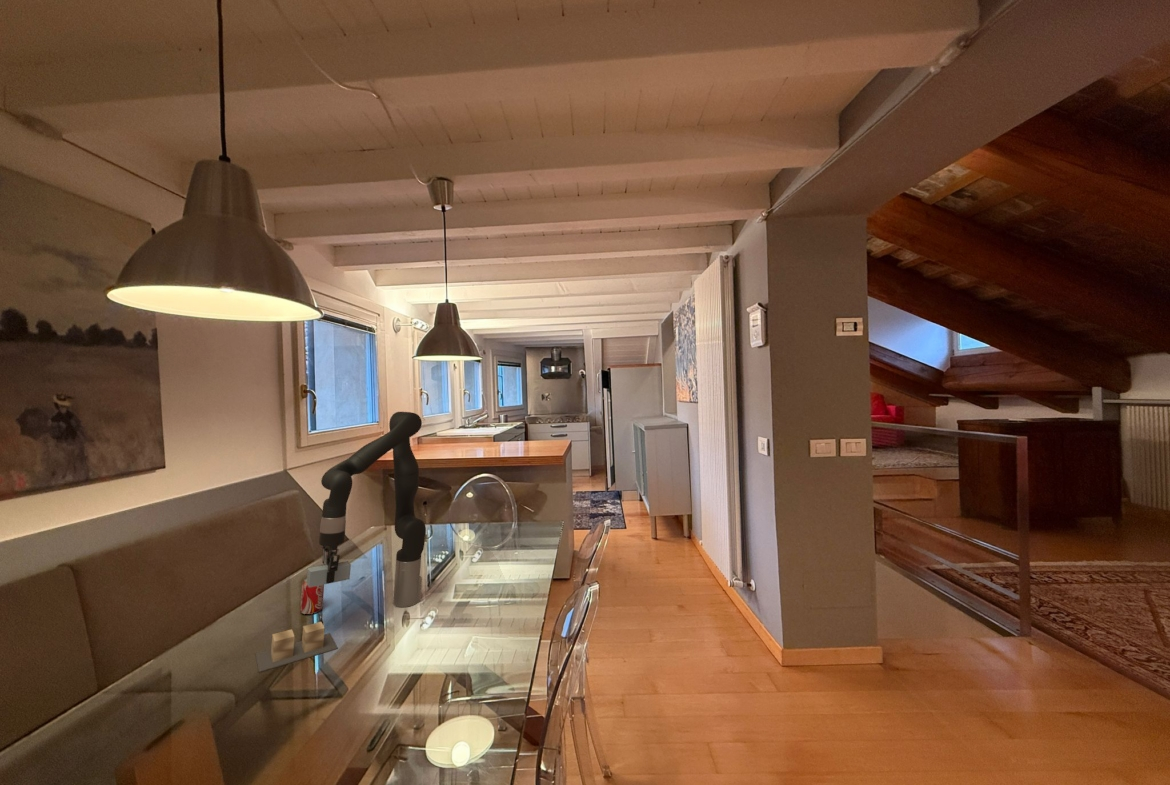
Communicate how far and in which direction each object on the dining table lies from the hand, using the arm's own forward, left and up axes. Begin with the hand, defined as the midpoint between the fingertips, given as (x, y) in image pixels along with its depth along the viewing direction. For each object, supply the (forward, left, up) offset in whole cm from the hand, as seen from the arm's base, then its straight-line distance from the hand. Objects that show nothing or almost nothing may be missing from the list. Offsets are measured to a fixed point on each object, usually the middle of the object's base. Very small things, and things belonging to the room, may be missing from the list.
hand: (328, 580), depth 145 cm
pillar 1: (+13, +7, -17) cm, 23 cm away
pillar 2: (+5, +7, -17) cm, 19 cm away
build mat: (+9, +7, -18) cm, 21 cm away
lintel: (0, 0, 0) cm, 0 cm away
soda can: (+1, -19, -18) cm, 26 cm away
